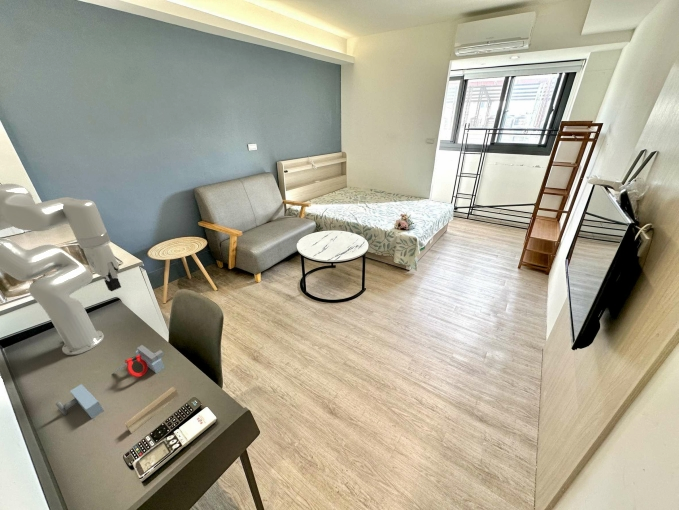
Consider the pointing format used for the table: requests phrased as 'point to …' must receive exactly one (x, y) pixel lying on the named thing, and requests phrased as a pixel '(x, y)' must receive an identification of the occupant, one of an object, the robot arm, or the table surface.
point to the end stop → (151, 410)
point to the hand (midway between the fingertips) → (115, 288)
